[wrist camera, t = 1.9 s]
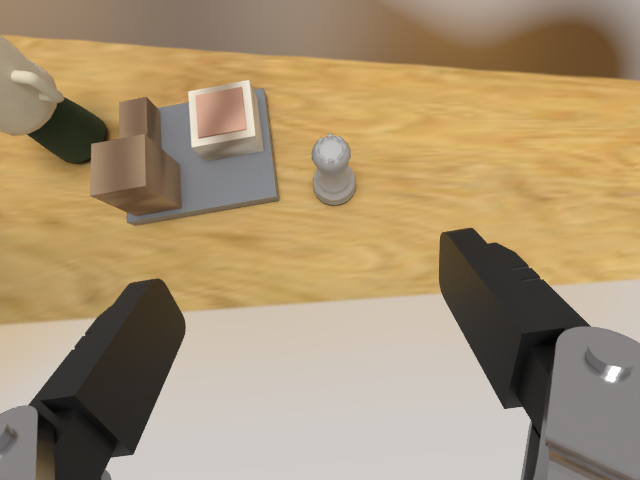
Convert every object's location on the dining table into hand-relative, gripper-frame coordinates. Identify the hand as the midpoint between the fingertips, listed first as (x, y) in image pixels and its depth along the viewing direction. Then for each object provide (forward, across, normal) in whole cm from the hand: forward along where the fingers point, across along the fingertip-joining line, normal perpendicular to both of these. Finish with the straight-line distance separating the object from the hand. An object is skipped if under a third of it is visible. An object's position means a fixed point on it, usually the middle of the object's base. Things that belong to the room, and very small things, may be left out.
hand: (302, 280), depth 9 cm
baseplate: (+28, +12, +2) cm, 31 cm away
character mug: (+31, +26, -1) cm, 41 cm away
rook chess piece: (+24, -2, +7) cm, 25 cm away
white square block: (+28, +8, 0) cm, 30 cm away
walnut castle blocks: (+27, +17, +2) cm, 32 cm away
